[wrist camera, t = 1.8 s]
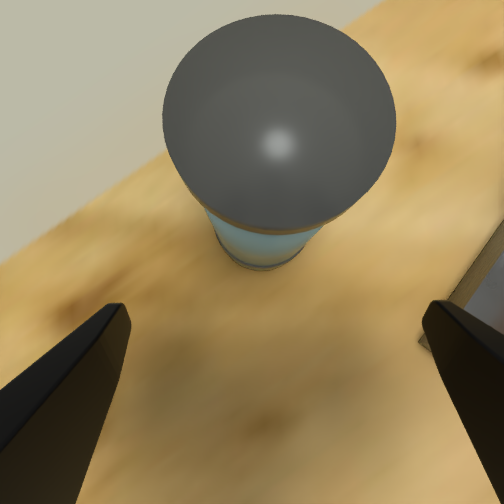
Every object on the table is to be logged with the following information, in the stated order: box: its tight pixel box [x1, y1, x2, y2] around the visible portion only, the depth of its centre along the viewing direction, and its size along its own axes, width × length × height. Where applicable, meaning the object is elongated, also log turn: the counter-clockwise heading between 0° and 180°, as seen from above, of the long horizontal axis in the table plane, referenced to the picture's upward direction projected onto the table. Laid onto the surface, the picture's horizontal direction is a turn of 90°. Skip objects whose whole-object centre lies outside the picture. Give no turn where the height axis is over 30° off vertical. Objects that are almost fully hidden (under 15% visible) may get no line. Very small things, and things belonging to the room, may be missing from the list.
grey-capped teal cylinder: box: [162, 14, 396, 271], centre depth 14 cm, size 6×6×13 cm
